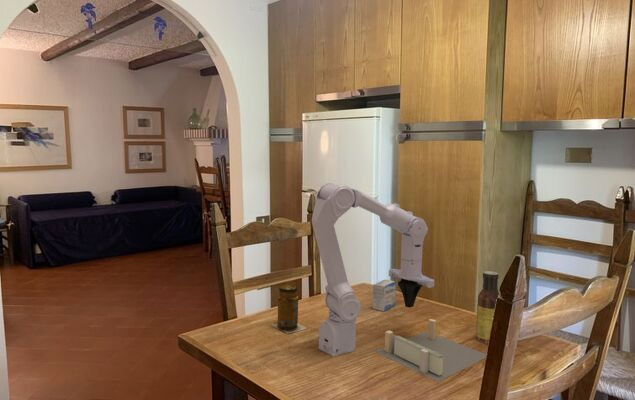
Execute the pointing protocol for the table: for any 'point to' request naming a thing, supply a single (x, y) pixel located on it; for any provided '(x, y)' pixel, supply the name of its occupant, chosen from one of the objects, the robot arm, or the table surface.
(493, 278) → the sauce bottle
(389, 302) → the medicine box
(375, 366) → the table surface
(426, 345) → the grey square baseplate
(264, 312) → the table surface
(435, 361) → the gate
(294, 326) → the condiment
